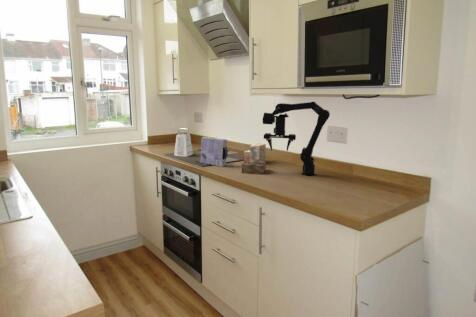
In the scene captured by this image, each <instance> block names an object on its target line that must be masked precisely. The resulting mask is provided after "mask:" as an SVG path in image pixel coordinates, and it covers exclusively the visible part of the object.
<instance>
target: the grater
mask: <svg viewBox="0 0 476 317" xmlns="http://www.w3.org/2000/svg"><path fill="white" fill-rule="evenodd" d="M181 130H186V133H181ZM192 155H194V153H193V146H192V139H191V134H190V129H189V128H184V127H183V128H181V127H180V128H178V129H177V134H176V137H175V145H174V153H173V156H175V157H184V158H185V157H189V156H192Z"/></svg>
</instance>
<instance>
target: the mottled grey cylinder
mask: <svg viewBox="0 0 476 317" xmlns="http://www.w3.org/2000/svg"><path fill="white" fill-rule="evenodd" d="M259 148H260V147H257V146H251V147H250V146H249V150H250V164H259Z"/></svg>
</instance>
